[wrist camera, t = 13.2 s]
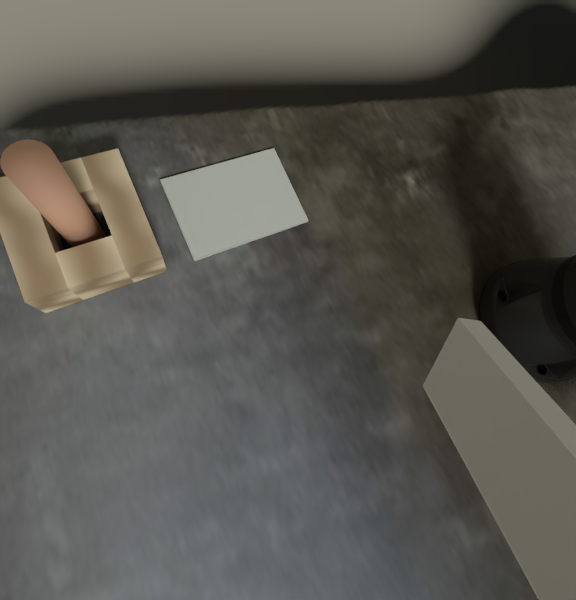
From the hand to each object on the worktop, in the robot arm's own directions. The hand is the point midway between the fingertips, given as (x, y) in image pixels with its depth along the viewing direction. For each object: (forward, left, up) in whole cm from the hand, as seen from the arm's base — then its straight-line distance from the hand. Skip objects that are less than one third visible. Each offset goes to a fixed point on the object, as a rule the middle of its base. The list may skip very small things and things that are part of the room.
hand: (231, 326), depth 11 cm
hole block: (+6, -18, -30) cm, 35 cm away
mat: (-10, -17, -30) cm, 36 cm away
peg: (+6, -18, -30) cm, 35 cm away
